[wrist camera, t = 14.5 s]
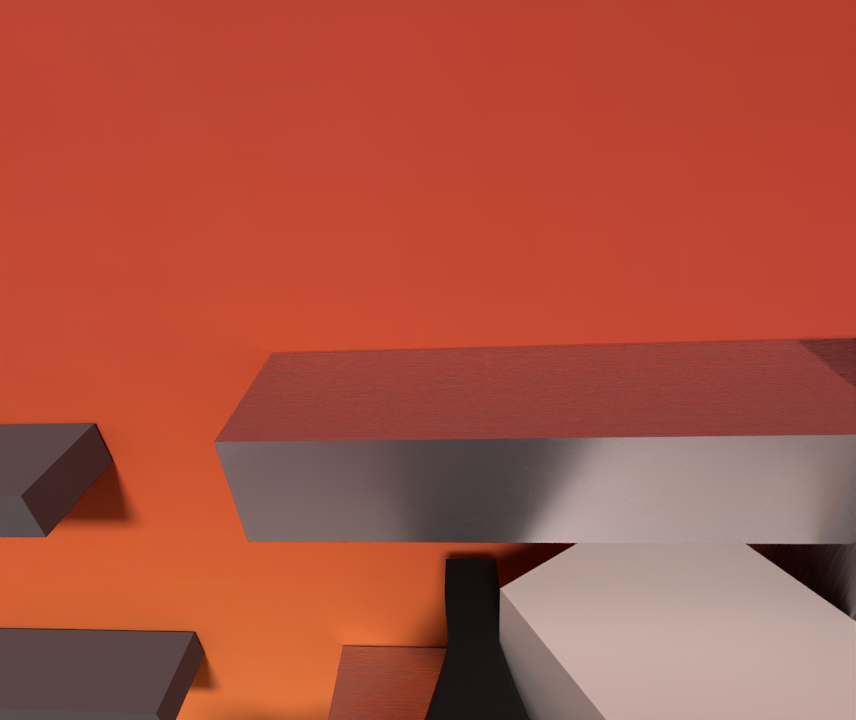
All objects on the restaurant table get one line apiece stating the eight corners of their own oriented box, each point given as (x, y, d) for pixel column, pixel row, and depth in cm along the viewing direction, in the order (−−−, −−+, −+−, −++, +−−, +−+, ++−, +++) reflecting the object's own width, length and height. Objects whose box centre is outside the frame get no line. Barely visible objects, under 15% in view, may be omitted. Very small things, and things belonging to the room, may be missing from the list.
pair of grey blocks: (4, 649, 15) (-57, 726, 13) (-176, 427, 11) (-297, 496, 9) (204, 653, 14) (169, 735, 13) (94, 423, 10) (20, 495, 9)
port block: (352, 687, 15) (329, 820, 12) (271, 353, 9) (198, 466, 7) (753, 697, 14) (820, 843, 11) (925, 336, 8) (1132, 459, 6)
